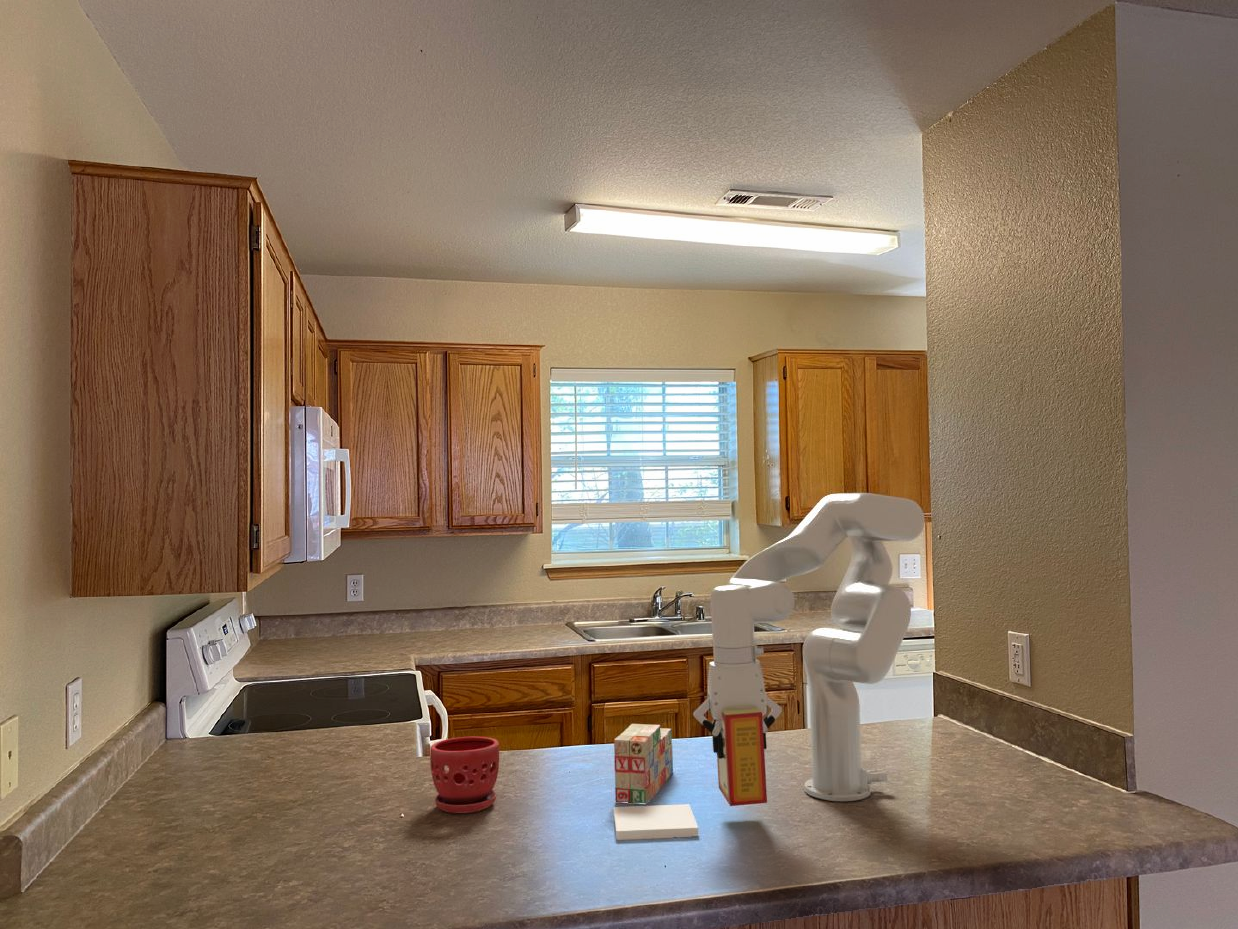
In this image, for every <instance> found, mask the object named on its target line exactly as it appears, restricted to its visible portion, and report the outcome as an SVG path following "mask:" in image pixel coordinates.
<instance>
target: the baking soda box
mask: <svg viewBox="0 0 1238 929" xmlns="http://www.w3.org/2000/svg"><path fill="white" fill-rule="evenodd" d="M723 711H724V712H722V727H721V730H720V734H721V736H722V745H723V758H722V759H719V757H718V756H717V755H716V757H717V758H716V760H717V777H718V789H719V790H720V792H721V793H722V795H723V798H725V801H727V803H728V805H729V807H734V806H735V807H737V806H747V805H758V804H767V803H768V793H767V792H768V791H767V776H766V759H765V756H766V755H765V749H764V737H763V720H764V718H763V717H762V712H761V711H760V710H759V709H748V710H723Z"/></svg>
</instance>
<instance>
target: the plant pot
mask: <svg viewBox="0 0 1238 929" xmlns="http://www.w3.org/2000/svg"><path fill="white" fill-rule="evenodd" d="M429 749H430V752H429V755H430V756H429V758H430V759H429V761H430V769H431V770H430V771H431V779H432V781H433V785H434V787H435V790H436V792H437V796H436V797H435V799H434V803H435V805H436V806H437V807H438V808H439V809H440V810H441V811H445V812H448V813H451V814H468V813H472V814H473V813H474V812H475V813H477V812H478V811H481V810H485V809H487V808H489V807H491V805H493V804H494V803H495V801H496V799H497V792H496V791H495V790H494V787H495V785H496V782H497V778H498V774H499V768H500V744H499V741H498V740H497V739H495V738H493V737H487V736H463V737H462V736H461V737H452V738H447V739H443V740H440V741H437V742H435V743H433V744H431V746H430V748H429ZM445 767H447V768H448V771H446V768H445Z"/></svg>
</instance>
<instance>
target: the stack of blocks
mask: <svg viewBox="0 0 1238 929" xmlns="http://www.w3.org/2000/svg"><path fill="white" fill-rule="evenodd" d="M672 742H673V741H672V728H661V725H660V724H642V723H631V724H630V725H629V726H627V728H625V730H624V731H623V732H621V733H620V735H618V736H616V737H615V738H614V740H613V743H614V744H613V745H614V749H613V750H614V756H613V757H614V778H615V779H614V786H615V787H614V788H615V789H614V792H615V793H614V794H615V799H614V800H615V801H616V802H628V803H647V804H649V802H650V801H651V800H652V799H653V798H654V797H655V796H656V795H657V793H658V792H659V791H660V788H662V787H663V785H664V784H665V782H666V781H667V780H668V779H669V777H671V775H672V774H673V773H674V767H673V766H674V763H673V762H674V760H673V758H674V757H673V754H674V753H673V743H672ZM657 791H658V792H657ZM656 792H657V793H656ZM654 795H655V796H654ZM653 796H654V797H653ZM652 797H653V798H652ZM651 798H652V799H651ZM650 799H651V800H650ZM649 800H650V801H649ZM648 801H649V802H648ZM616 802H615V803H616Z"/></svg>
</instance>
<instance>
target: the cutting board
mask: <svg viewBox="0 0 1238 929" xmlns="http://www.w3.org/2000/svg"><path fill="white" fill-rule="evenodd" d="M612 810H613V822H614V830H615V837H616V838H615V839H616V841H628V840H629V841H630V840H631V841H632V840H649V839H653V838H654V839H672V838H673V837H677V838H692V837H691V836H699V826H698V823H697V821H696V818H695V815H694V813H693V811H692V808H691V804H690V803H686V804H685V803H684V804H664V805H663V804H662V805H661V804H659V805H637V806H635V805H634V806H616V807H615V806H613V809H612ZM687 836H688V837H687Z"/></svg>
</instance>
